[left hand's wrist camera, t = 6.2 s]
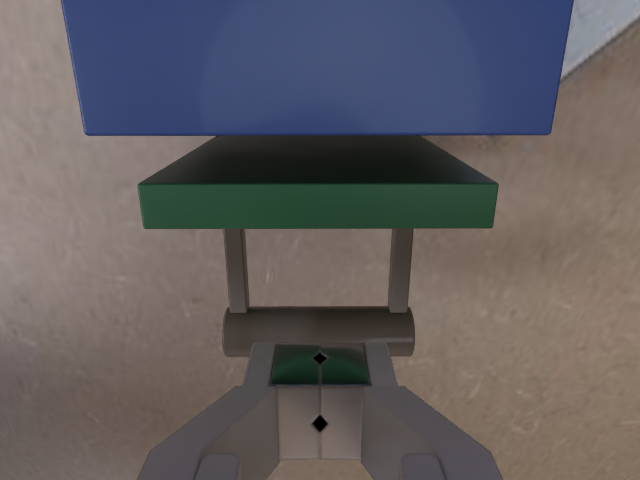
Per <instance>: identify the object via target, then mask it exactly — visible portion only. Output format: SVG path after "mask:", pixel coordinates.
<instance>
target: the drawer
mask: <svg viewBox="0 0 640 480" xmlns="http://www.w3.org/2000/svg"><path fill="white" fill-rule="evenodd" d="M498 186H499V185H498V183H496V182H495V181H493V180H491V179H490V178H488V177H487V176H485V175H483V174H482V173H480V172H478V171H477V170H475V169H474V168H472V167H470V166H469V165H467V164H465V163H464V162H462V161H460V160H459V159H457V158H456V157H454V156H452V155H451V154H449V153H447V152H446V151H444V150H443V149H441V148H439V147H438V146H436V145H434V144H433V143H431V142H429V141H428V140H426V139H425V138H423V137H421V136H419V135H376V136H216V137H214V138H213V139H211V140H209V141H208V142H206V143H204V144H203V145H201V146H200V147H198V148H196V149H195V150H193V151H191V152H190V153H188V154H186V155H185V156H183V157H182V158H180V159H178V160H177V161H175V162H173V163H172V164H170V165H168V166H167V167H165V168H164V169H162V170H160V171H159V172H157V173H155V174H154V175H152V176H150V177H149V178H147V179H146V180H144V181H142V182H141V183H139V184H138V192H139V199H140V206H141V213H142V220H143V227H144V228H145V229H223V232H224V244H225V257H226V270H227V282H228V295H229V307H228V308H227V309H226V312H225V315H224V320H223V331H222V341H223V350H224V353H225V355H226V356H227V357H250V353H251V349H252V345H253V344H254V343H255V342H276V343H277V342H296V343H320V344H328V343H364V342H386V343H387V345H388V349H389V353H390V356H411V355H412V354H413V351H414V344H415V327H414V319H413V314H412V311H411V309H410V307H408V296H409V283H410V269H411V256H412V242H413V229H414V228H492V227H493V222H494V215H495V207H496V200H497V193H498ZM390 228H392V239H391V256H390V274H389V291H388V306H274V307H249V288H248V272H247V256H246V240H245V229H390Z"/></svg>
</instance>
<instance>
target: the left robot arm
mask: <svg viewBox="0 0 640 480" xmlns="http://www.w3.org/2000/svg"><path fill="white" fill-rule="evenodd" d="M300 459H339V460H361V463H362V464H363V466H364V467H365V468H366V470H367V471H368V472H369V474H370V475H371V476H372V478H373V479H374V480H503V478H502V476H501V474H500V471H499V469H498V467H497V465H496V463H495V460H494V458H493V456H492V454H491V452H490V451H489V450H487V449H486V448H485V447H484V446H482V445H481V444H480V443H478V442H477V441H476V440H474V439H473V438H472V437H470V436H469V435H468V434H466V433H465V432H464V431H462V430H461V429H460V428H459V427H457V426H456V425H455V424H453V423H452V422H451V421H449V420H448V419H447V418H445V417H444V416H443V415H441V414H440V413H439V412H437V411H436V410H435V409H434V408H432V407H431V406H430V405H428V404H427V403H426V402H424V401H423V400H422V399H420V398H419V397H418V396H416V395H415V394H414V393H412V392H411V391H410V390H409V389H407V388H406V387H404V386H398V384H397V380H396V377H395V373H394V369H393V365H392V361H391V357H390V353H389V349H388V345H387V343H386V342H364V343H328V344H320V343H296V342H277V343H276V342H255V343H254V344H253V345H252V349H251V353H250V357H249V361H248V365H247V369H246V372H245V376H244V380H243V384H242V386H236V387H234V388H233V389H231V390H230V391H229V392H228V393H226V394H225V395H224V396H222V397H221V398H220V399H218V400H217V401H216V402H214V403H213V404H212V405H210V406H209V407H208V408H206V409H205V410H204V411H202V412H201V413H200V414H198V415H197V416H196V417H194V418H193V419H192V420H191V421H189V422H188V423H187V424H185V425H184V426H183V427H181V428H180V429H179V430H177V431H176V432H175V433H173V434H172V435H171V436H169V437H168V438H167V439H165V440H164V441H163V442H161V443H160V444H159V445H157V446H156V447H155V448H153V449H152V450H151V451H150V452H149V454H148V456H147V459H146V461H145V463H144V465H143V467H142V470H141V472H140V474H139V476H138V478H137V480H266V479H267V478H268V477H269V475H270V474H271V473H272V471H273V470H274V469H275V468H276V466H277V465H278V464H279V460H300Z"/></svg>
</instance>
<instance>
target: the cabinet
mask: <svg viewBox="0 0 640 480" xmlns="http://www.w3.org/2000/svg"><path fill="white" fill-rule="evenodd" d="M573 2H574V0H61V3H62V9H63V14H64V20H65V26H66V31H67V37H68V43H69V48H70V54H71V59H72V65H73V71H74V76H75V82H76V88H77V93H78V99H79V104H80V110H81V116H82V121H83V127H84V133H85V135H88V136H297V135H549V134H550V133H551V129H552V123H553V118H554V112H555V106H556V100H557V94H558V89H559V83H560V77H561V71H562V65H563V60H564V54H565V48H566V42H567V36H568V31H569V25H570V19H571V13H572V7H573Z"/></svg>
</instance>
